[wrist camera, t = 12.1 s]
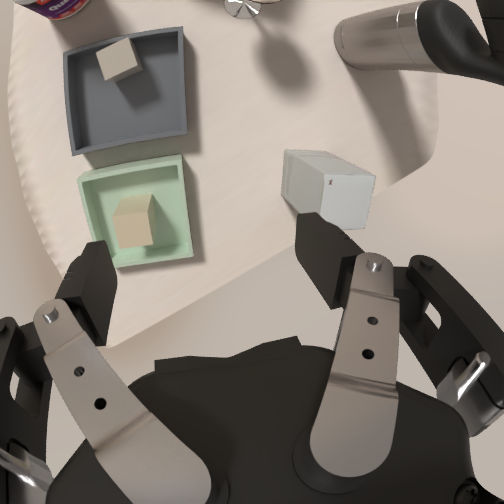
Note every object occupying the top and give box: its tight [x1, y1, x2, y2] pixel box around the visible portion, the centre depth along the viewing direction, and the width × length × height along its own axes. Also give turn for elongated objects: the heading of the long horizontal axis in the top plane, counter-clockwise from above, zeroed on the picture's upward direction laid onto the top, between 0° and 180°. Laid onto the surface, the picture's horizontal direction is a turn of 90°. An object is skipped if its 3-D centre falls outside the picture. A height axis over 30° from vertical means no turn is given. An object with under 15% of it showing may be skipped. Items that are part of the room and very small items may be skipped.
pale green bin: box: [77, 154, 194, 268], centre depth 36 cm, size 14×14×4 cm
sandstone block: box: [112, 193, 156, 249], centre depth 34 cm, size 4×4×6 cm
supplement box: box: [281, 150, 376, 230], centre depth 36 cm, size 7×7×13 cm
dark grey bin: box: [63, 26, 187, 156], centre depth 27 cm, size 15×14×4 cm
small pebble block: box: [96, 37, 143, 83], centre depth 24 cm, size 4×4×5 cm
